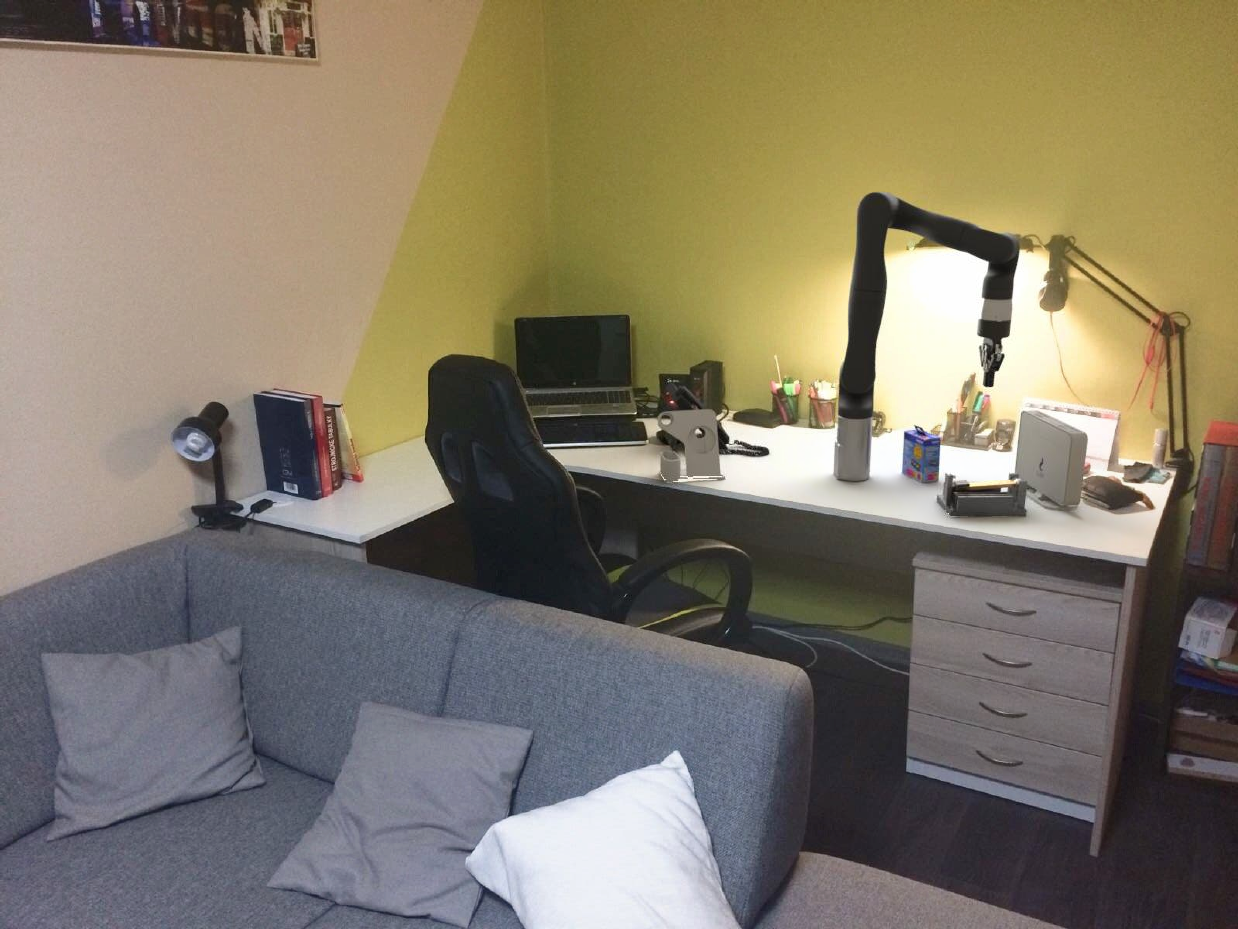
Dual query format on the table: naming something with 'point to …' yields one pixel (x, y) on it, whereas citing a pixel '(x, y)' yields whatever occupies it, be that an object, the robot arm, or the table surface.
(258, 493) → the table surface
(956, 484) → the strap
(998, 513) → the heatsink
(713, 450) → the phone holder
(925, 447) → the ink cartridge box
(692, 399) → the office phone
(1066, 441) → the network device
